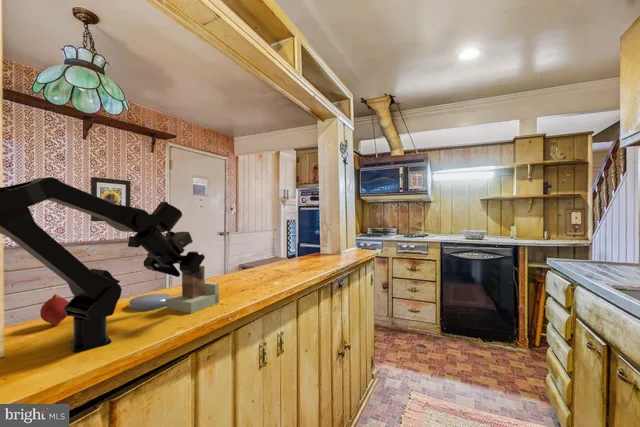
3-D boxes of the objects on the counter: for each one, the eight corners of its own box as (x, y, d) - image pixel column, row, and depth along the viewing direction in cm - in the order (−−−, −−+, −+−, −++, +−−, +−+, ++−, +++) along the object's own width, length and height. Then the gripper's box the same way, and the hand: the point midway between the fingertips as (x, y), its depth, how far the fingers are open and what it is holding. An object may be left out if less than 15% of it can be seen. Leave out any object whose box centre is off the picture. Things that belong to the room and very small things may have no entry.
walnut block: (193, 298, 89) (193, 268, 89) (182, 296, 91) (182, 267, 91) (204, 294, 93) (204, 266, 93) (193, 293, 95) (193, 265, 95)
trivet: (175, 304, 92) (175, 298, 92) (135, 313, 84) (135, 306, 84) (162, 297, 100) (162, 291, 100) (124, 305, 92) (124, 298, 92)
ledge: (191, 313, 85) (191, 292, 85) (166, 308, 89) (166, 288, 89) (218, 302, 95) (218, 283, 95) (195, 298, 99) (195, 280, 99)
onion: (36, 326, 75) (35, 295, 75) (64, 319, 80) (63, 289, 80) (46, 331, 72) (46, 298, 72) (74, 323, 77) (74, 292, 77)
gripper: (199, 223, 82) (227, 257, 92) (152, 222, 89) (182, 253, 99) (175, 256, 75) (208, 288, 85) (126, 252, 82) (162, 282, 92)
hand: (190, 276), depth 91 cm, fingers open, 9 cm apart
